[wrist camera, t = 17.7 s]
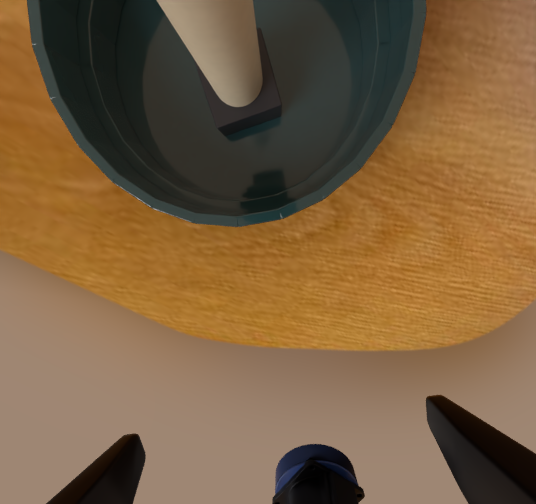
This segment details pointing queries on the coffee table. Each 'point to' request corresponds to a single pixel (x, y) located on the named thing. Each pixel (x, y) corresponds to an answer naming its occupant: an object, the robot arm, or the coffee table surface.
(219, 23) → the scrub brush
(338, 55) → the basin
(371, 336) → the coffee table surface
